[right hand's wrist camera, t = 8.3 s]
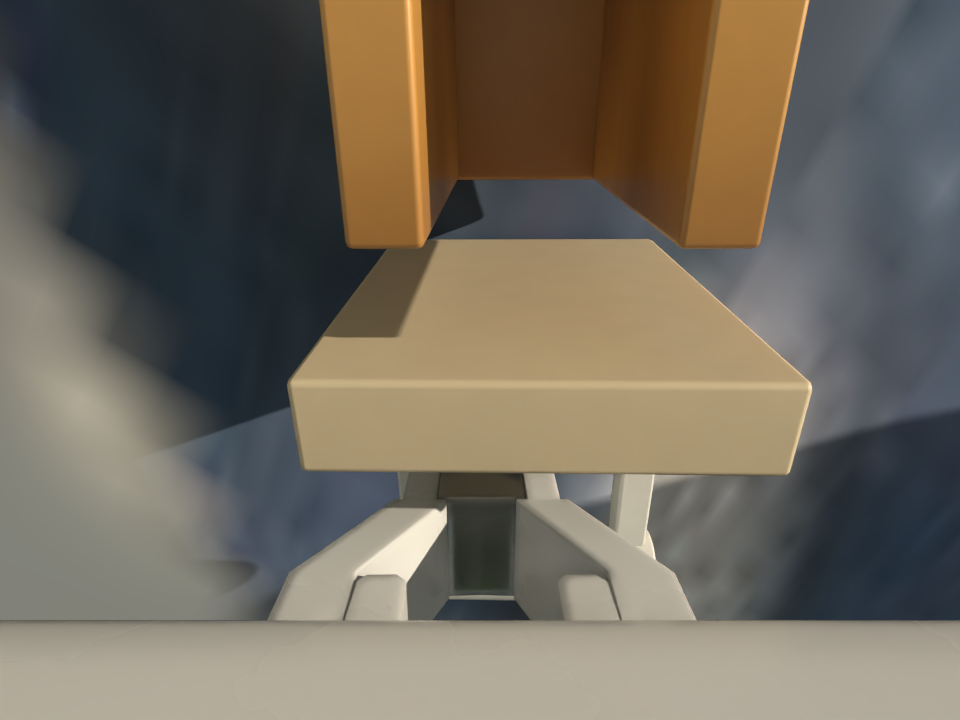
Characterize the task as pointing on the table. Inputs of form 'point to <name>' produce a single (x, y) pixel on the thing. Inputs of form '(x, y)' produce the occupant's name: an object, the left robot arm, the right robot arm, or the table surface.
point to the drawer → (552, 244)
